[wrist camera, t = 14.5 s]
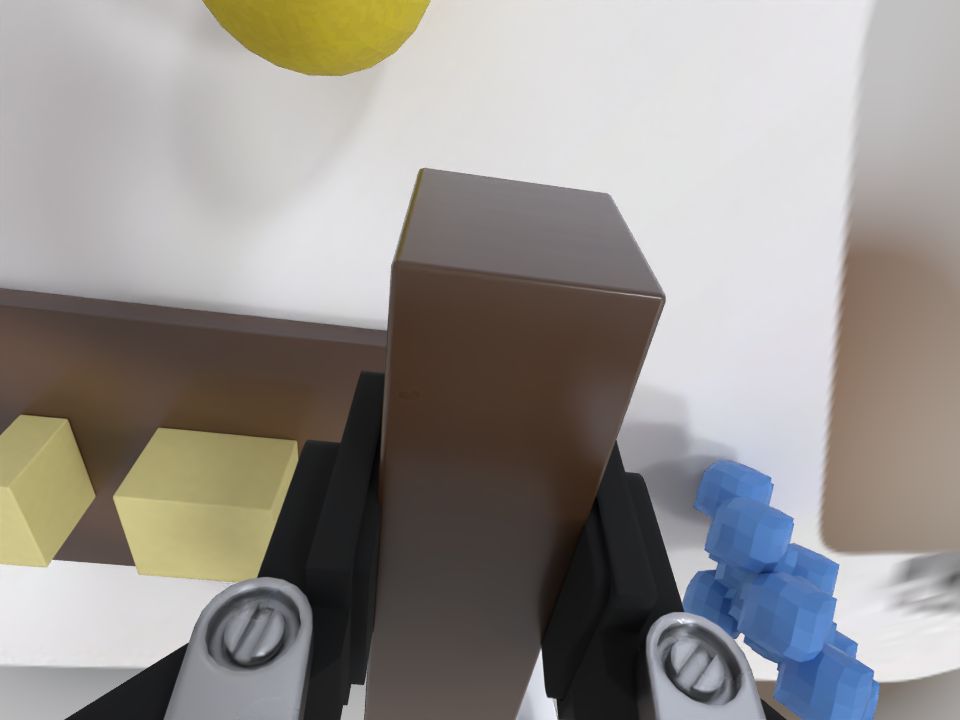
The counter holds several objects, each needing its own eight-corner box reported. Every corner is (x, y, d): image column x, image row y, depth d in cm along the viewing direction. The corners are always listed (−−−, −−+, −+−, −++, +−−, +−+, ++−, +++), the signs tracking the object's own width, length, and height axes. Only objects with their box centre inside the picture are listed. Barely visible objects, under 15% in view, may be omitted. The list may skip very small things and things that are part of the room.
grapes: (597, 438, 28) (661, 709, 18) (738, 376, 26) (896, 645, 16) (689, 566, 33) (774, 825, 24) (810, 524, 31) (960, 790, 22)
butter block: (158, 426, 26) (111, 496, 22) (297, 439, 26) (271, 510, 23) (177, 503, 29) (137, 575, 25) (302, 514, 29) (279, 586, 26)
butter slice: (19, 413, 25) (-48, 483, 22) (68, 418, 25) (8, 488, 22) (53, 492, 28) (-3, 564, 25) (96, 496, 28) (47, 568, 25)
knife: (419, 165, 8) (390, 261, 6) (611, 192, 9) (670, 297, 6) (368, 797, 21) (351, 920, 18) (447, 801, 21) (443, 924, 18)
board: (-67, 280, 23) (-91, 295, 22) (445, 337, 24) (444, 353, 23) (51, 540, 32) (37, 559, 31) (418, 569, 34) (416, 588, 33)
